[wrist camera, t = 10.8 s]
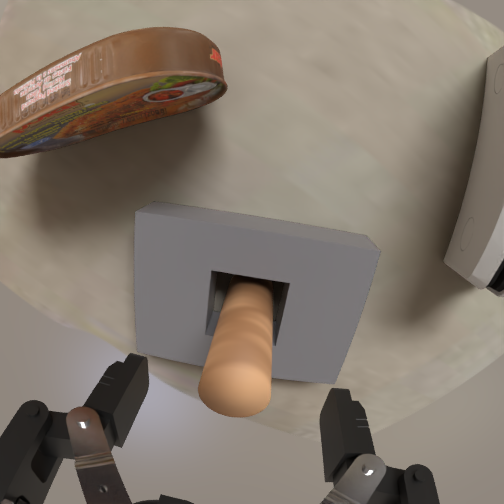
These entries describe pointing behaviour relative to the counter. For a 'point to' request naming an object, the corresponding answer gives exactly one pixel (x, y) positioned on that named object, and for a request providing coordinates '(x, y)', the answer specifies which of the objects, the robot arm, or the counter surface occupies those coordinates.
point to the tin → (110, 89)
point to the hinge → (484, 195)
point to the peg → (241, 351)
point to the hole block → (253, 265)
